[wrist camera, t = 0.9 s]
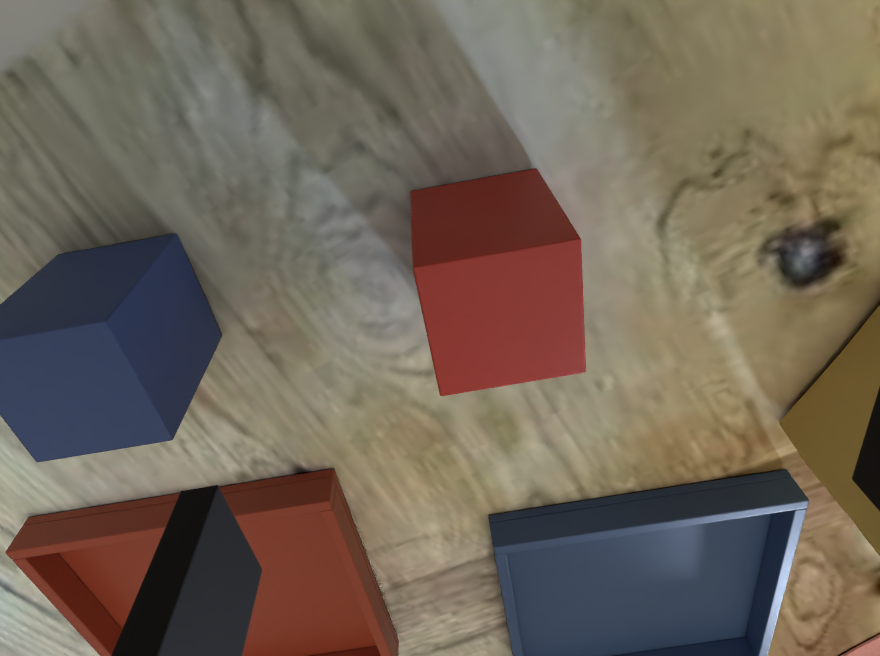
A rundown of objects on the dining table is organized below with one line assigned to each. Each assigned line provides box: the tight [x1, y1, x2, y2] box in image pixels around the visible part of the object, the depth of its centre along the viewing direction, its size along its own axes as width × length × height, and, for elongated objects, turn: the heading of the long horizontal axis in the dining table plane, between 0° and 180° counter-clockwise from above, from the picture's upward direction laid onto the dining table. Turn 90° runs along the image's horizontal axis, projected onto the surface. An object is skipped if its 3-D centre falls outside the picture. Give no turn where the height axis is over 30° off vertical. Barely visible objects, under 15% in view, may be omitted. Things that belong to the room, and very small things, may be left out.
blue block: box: [0, 234, 222, 462], centre depth 20 cm, size 4×4×6 cm
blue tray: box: [489, 470, 809, 656], centre depth 33 cm, size 15×15×2 cm
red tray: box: [6, 469, 398, 656], centre depth 31 cm, size 15×15×2 cm
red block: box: [410, 169, 586, 396], centre depth 19 cm, size 4×4×6 cm
